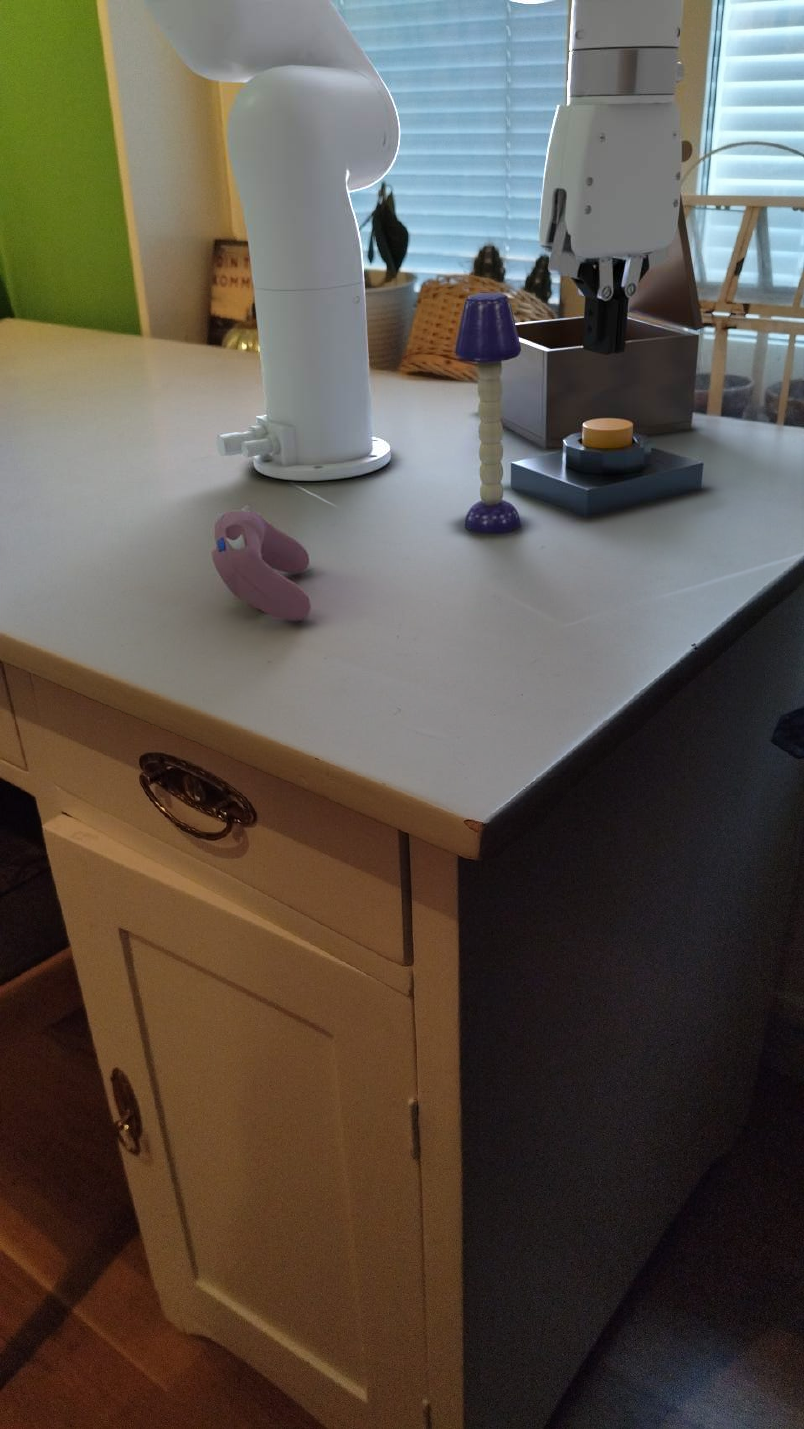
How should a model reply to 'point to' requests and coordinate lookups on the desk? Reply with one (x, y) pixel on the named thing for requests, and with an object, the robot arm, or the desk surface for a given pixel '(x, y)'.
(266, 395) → the robot arm
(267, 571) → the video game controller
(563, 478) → the control block
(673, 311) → the lid
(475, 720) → the desk surface
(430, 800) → the desk surface
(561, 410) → the brown square box
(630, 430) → the button
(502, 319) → the toy lamp
